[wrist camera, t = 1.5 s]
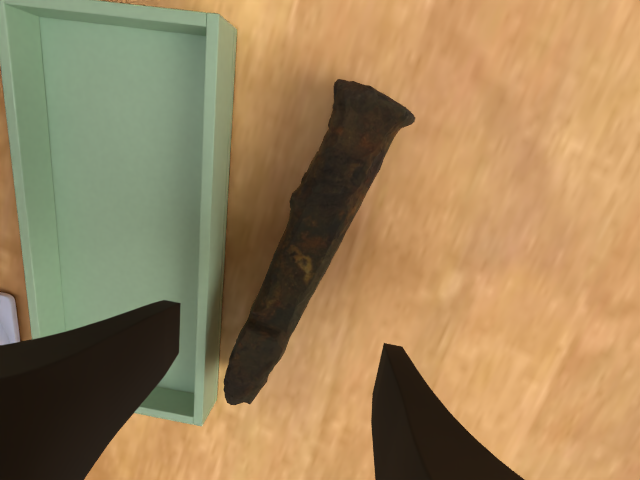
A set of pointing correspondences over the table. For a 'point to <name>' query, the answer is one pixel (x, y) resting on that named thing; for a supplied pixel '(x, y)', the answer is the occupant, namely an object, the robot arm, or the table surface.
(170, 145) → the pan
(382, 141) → the hand tool
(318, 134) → the table surface
